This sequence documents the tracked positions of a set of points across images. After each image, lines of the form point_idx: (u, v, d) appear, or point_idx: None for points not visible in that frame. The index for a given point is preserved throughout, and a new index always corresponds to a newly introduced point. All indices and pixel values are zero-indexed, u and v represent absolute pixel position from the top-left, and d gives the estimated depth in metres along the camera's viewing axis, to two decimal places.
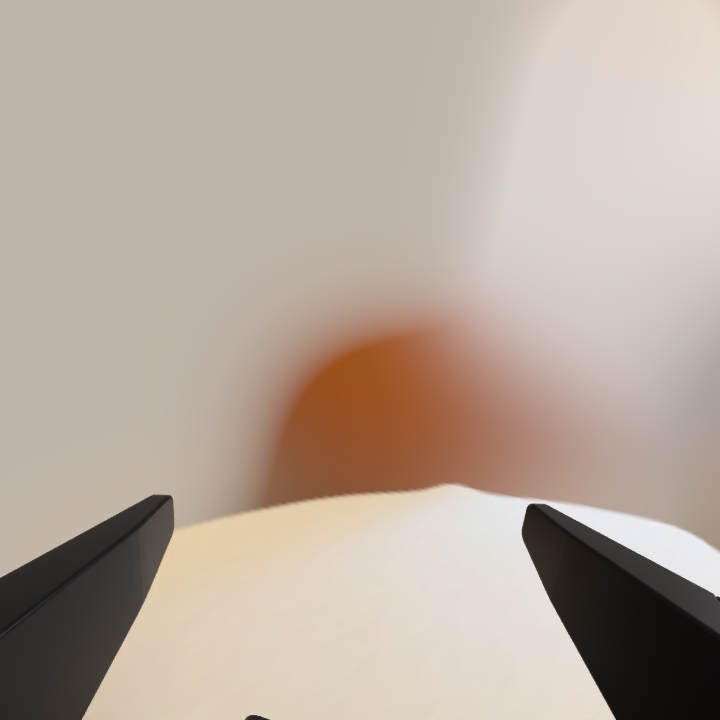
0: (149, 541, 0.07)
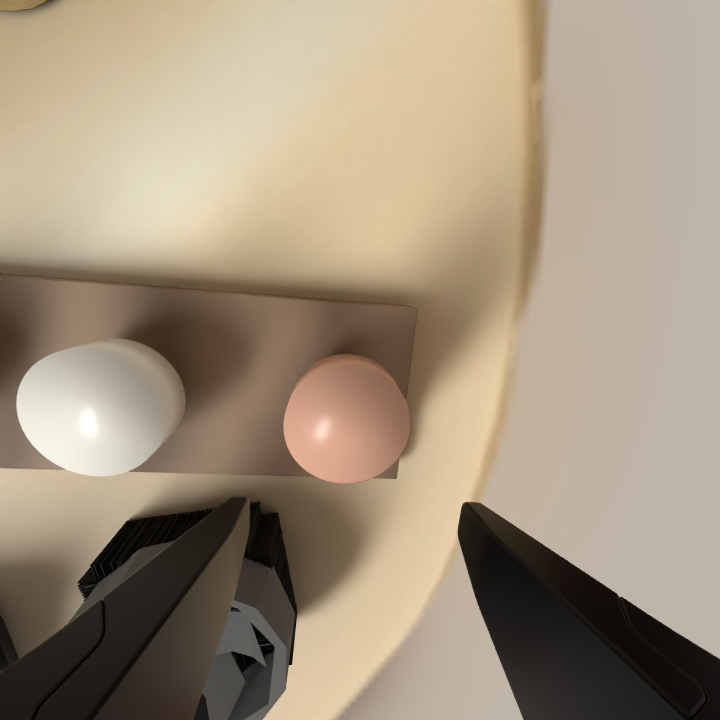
0: (237, 542, 0.07)
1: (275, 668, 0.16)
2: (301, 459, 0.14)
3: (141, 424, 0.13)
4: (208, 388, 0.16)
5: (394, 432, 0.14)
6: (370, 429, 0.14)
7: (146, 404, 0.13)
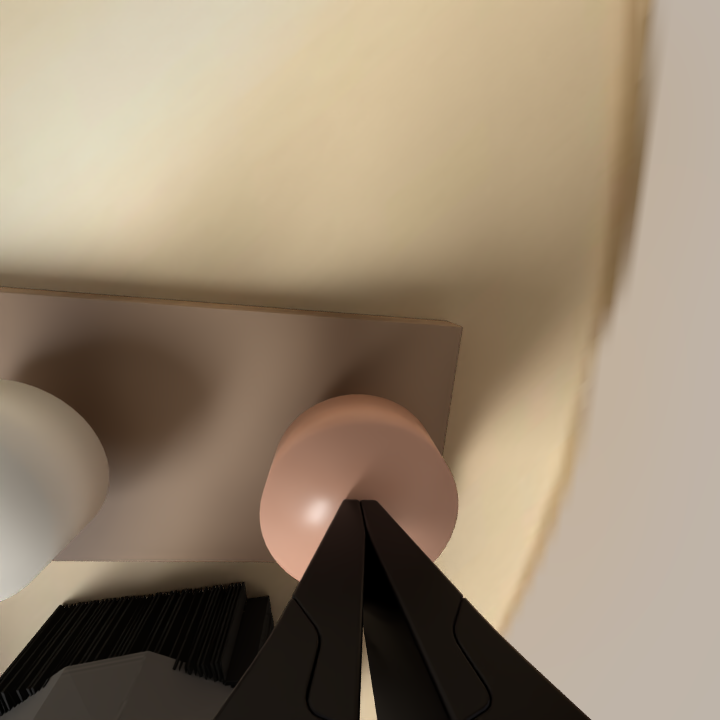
0: None
1: None
2: (288, 563, 0.09)
3: (14, 529, 0.08)
4: (153, 443, 0.11)
5: (433, 521, 0.09)
6: (396, 518, 0.09)
7: (19, 498, 0.07)
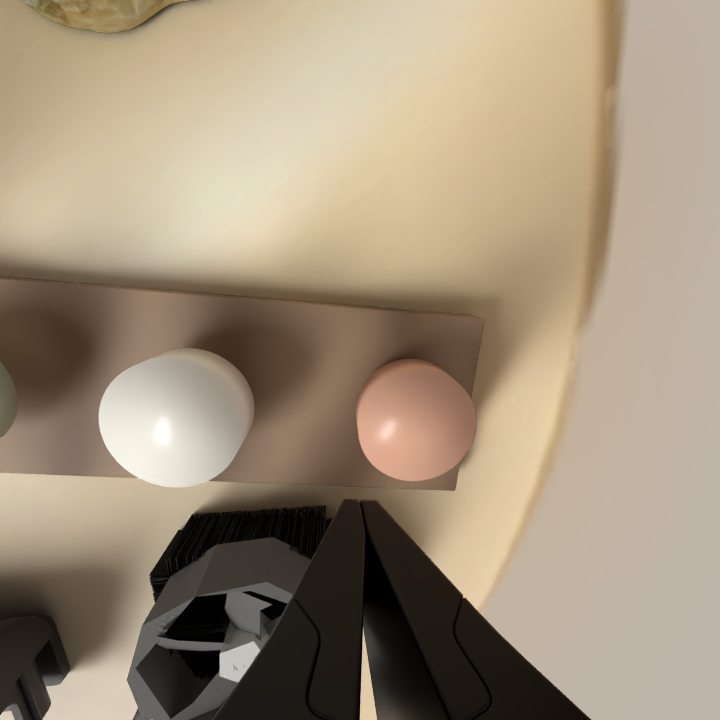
0: None
1: None
2: (373, 457, 0.14)
3: (219, 435, 0.13)
4: (271, 397, 0.16)
5: (461, 433, 0.14)
6: (438, 430, 0.14)
7: (225, 415, 0.12)
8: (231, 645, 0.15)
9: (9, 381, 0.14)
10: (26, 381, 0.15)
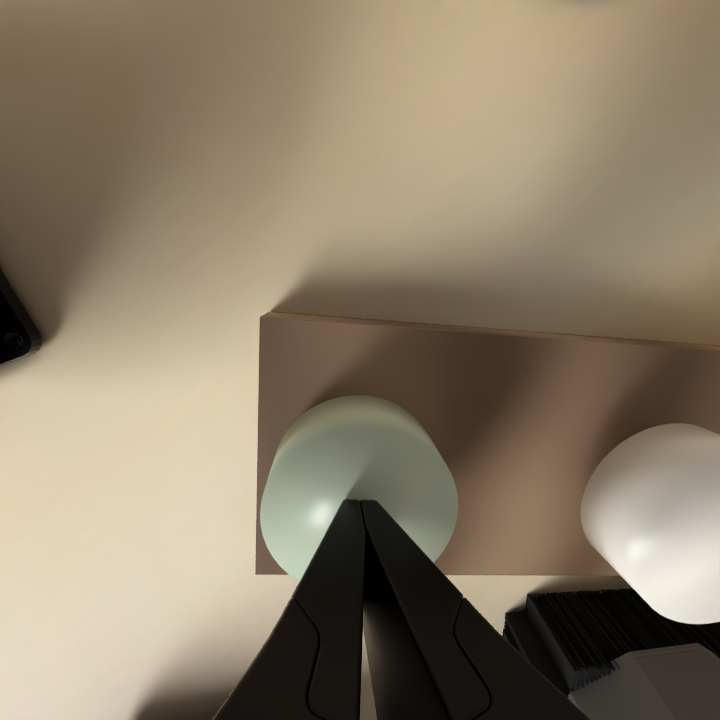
0: None
1: None
2: None
3: None
4: None
5: None
6: None
7: None
8: None
9: None
10: None
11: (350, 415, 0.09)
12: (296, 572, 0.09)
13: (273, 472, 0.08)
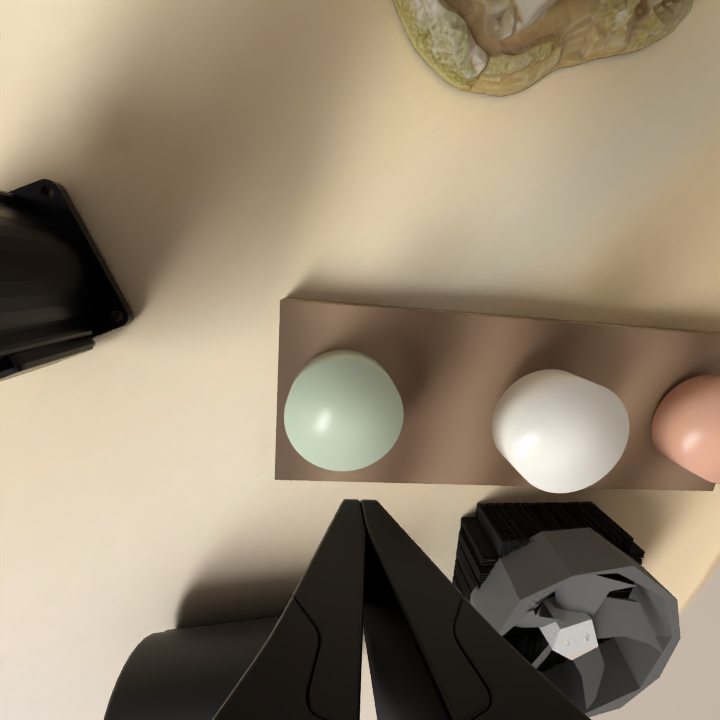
0: None
1: (661, 656, 0.17)
2: (697, 464, 0.16)
3: (608, 447, 0.14)
4: None
5: None
6: None
7: (617, 430, 0.14)
8: (567, 622, 0.17)
9: None
10: None
11: (337, 357, 0.14)
12: (305, 453, 0.15)
13: (292, 389, 0.14)
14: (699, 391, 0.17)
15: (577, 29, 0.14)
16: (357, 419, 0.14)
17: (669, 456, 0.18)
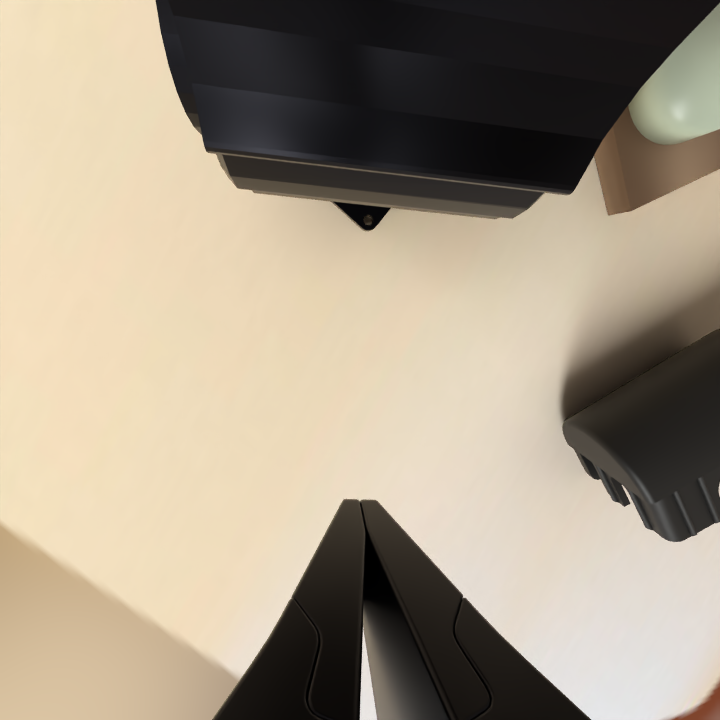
0: None
1: None
2: None
3: None
4: None
5: None
6: None
7: None
8: None
9: None
10: None
11: None
12: (697, 120, 0.15)
13: None
14: None
15: None
16: None
17: None
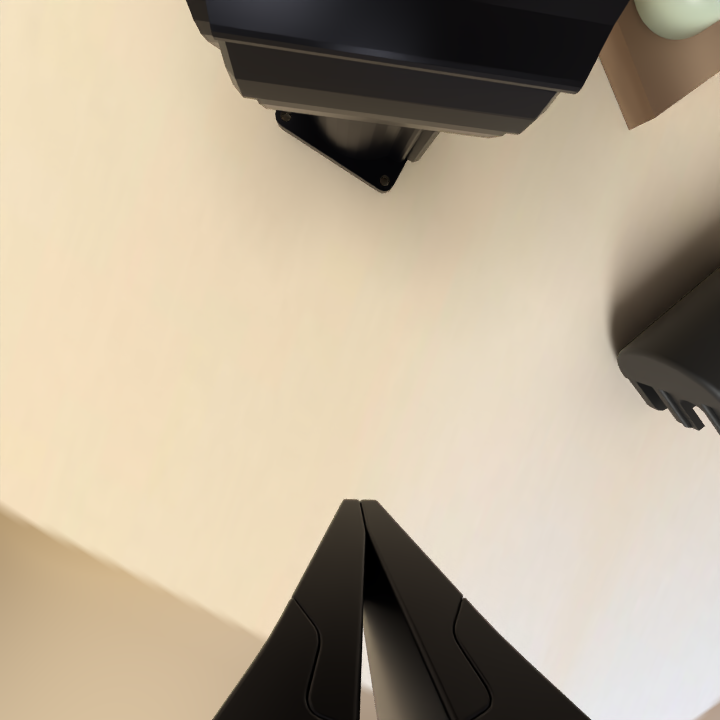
0: None
1: None
2: None
3: None
4: None
5: None
6: None
7: None
8: None
9: None
10: None
11: None
12: None
13: None
14: None
15: None
16: None
17: None
